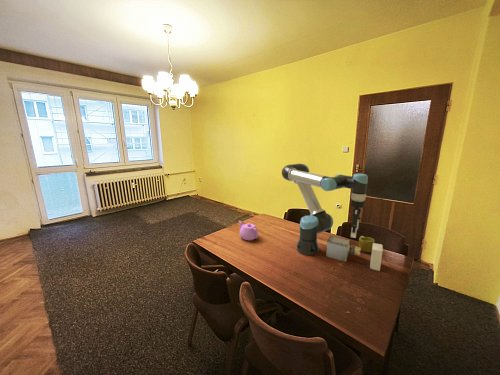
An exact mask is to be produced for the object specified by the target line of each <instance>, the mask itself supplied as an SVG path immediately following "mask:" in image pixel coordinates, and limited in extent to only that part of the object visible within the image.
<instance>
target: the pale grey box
mask: <svg viewBox="0 0 500 375" xmlns="http://www.w3.org/2000/svg"><path fill="white" fill-rule="evenodd" d="M348 245H350V239H346V238H342V237H338V236H333V235H329V237H328V239H327V241H326V255H325V257H326V258H327V257H328V258H330V259H335V260H338V261H343V262H345V263H346V262H347V260H348V256H349V253H347V250H348Z"/></svg>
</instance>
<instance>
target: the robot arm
mask: <svg viewBox="0 0 500 375" xmlns="http://www.w3.org/2000/svg"><path fill="white" fill-rule="evenodd" d="M281 176H282V178H283V179H284V180H286V181H288V182H294V184H295V185H297V187H298V189H299V190H300V193H301V195H302V198H303V199H304V201H305V204H306V207H307V208H308V211H309V213H310V214H309V215H304V216H302V217H301V218H300V221H299V238H298V240H297V243H296V251H297V252H298V253H300V254H302V255H305V256H315V255H317V254H319V253H320V246H319V243H318V234H322V233H324V232H327V231H329V230H331V229H332V228H333V225H334V219H333V217H332V215H331V214H329V213H327V212H326V209H323V208H322V206H321V204H320V202H319V199H318V197H317V196H316V193H315V191H314V189H313V187H317V188H320V189H322V190H323V191H326V192H330V191H334V190H339V189H350V190H351V195H350V206H351V207H353V210H352V221H351V222H352V224H351V225H350V228H351V229H350V230H351V232H350V238H353V239H354V238H355V239H356V238H357V231H358V230H359V221H360V220H361V217H360V214H361V212H362V210H361V209H362V208H365V207H366V198H367V197H368V195H367V190H368V189H367V188H368V183H369V182H368V180H369V179H368V178H369V177H368V175H367V174H365V173H354V174H353V176H350V175H344V174H336V175H334V176H327V175H322V174H319V173H313V172H310V169H309V166H308V165H306V164H304V163H295V164H292V163H291V164H287V165H285V166H284V167H283V168H282V169H281ZM312 186H313V187H312Z"/></svg>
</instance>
